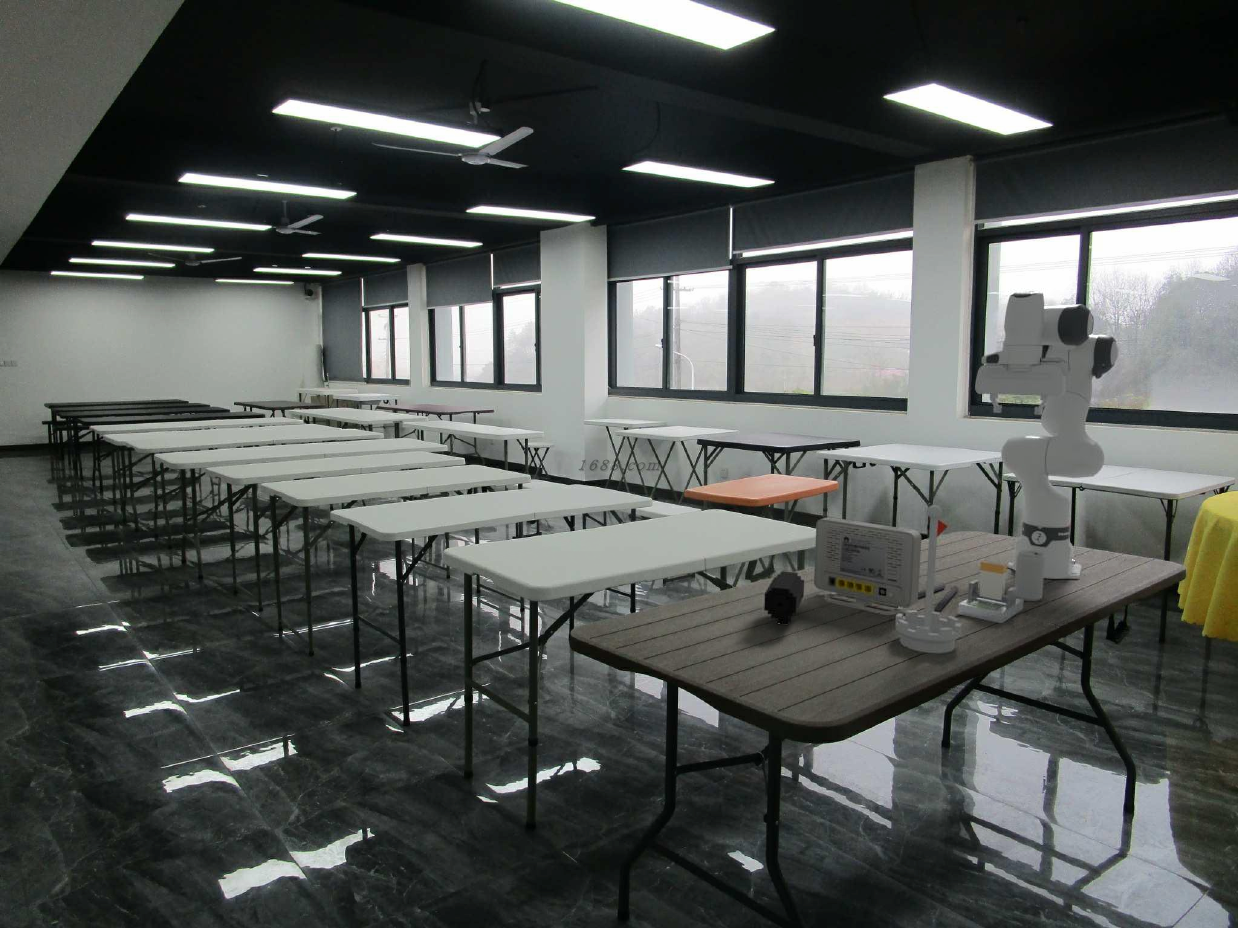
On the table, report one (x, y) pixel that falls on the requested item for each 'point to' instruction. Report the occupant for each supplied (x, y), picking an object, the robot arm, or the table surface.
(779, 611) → the security camera
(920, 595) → the cord
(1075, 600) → the table surface
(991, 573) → the breaker lever
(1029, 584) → the beverage can
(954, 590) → the dark grey rod
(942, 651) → the flag stand
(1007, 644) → the table surface
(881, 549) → the network device
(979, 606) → the breaker panel
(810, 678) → the table surface
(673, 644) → the table surface
